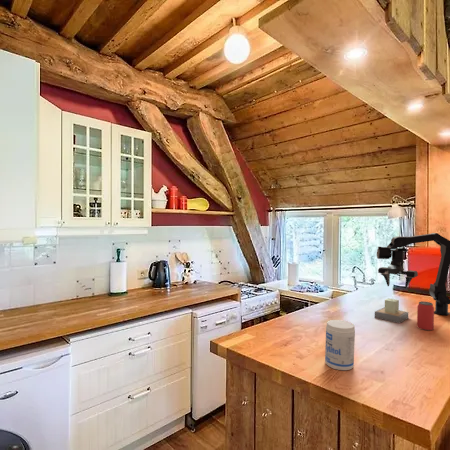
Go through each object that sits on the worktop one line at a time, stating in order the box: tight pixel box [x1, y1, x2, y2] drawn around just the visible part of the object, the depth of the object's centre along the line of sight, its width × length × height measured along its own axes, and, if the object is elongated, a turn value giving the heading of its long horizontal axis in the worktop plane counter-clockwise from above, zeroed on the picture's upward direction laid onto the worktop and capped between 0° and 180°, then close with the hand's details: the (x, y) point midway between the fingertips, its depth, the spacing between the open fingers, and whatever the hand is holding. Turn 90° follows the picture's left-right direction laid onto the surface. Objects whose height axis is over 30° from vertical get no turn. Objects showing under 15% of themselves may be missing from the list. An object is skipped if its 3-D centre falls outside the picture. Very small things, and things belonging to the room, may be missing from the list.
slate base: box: [374, 306, 409, 324], centre depth 168 cm, size 12×12×3 cm
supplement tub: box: [324, 319, 356, 371], centre depth 114 cm, size 10×10×15 cm
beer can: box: [416, 301, 435, 331], centre depth 152 cm, size 7×7×12 cm
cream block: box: [384, 297, 400, 314], centre depth 168 cm, size 5×5×6 cm
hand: (397, 287), depth 180 cm, fingers open, 9 cm apart
